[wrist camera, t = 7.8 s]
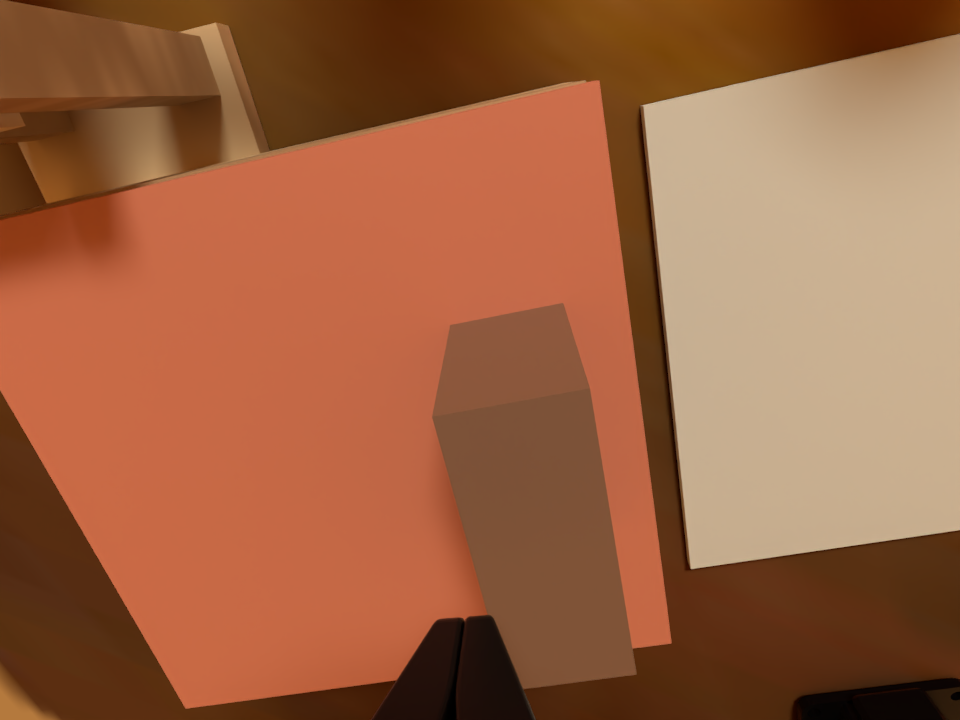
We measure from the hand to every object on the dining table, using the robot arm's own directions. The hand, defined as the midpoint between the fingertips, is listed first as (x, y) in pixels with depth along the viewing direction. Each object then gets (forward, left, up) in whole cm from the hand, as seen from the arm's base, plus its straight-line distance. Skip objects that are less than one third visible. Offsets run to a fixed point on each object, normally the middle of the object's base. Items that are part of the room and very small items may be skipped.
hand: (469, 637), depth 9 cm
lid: (0, +3, -7) cm, 7 cm away
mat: (-2, -14, -12) cm, 18 cm away
